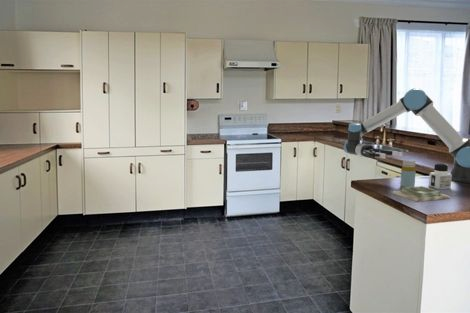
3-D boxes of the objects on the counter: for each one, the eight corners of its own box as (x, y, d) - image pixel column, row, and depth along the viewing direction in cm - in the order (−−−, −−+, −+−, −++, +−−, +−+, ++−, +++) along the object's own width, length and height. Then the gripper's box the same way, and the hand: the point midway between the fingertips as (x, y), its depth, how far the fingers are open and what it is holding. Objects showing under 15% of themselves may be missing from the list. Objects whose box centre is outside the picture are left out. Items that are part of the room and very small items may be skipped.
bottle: (410, 186, 208) (412, 159, 206) (416, 189, 201) (418, 161, 199) (397, 186, 208) (399, 159, 205) (403, 189, 201) (405, 161, 199)
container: (439, 189, 201) (441, 165, 199) (428, 186, 209) (430, 163, 206) (450, 188, 203) (453, 164, 201) (439, 185, 211) (441, 162, 209)
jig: (424, 190, 198) (424, 184, 198) (449, 198, 183) (450, 192, 182) (392, 193, 192) (393, 187, 192) (416, 201, 177) (416, 195, 177)
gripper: (379, 155, 235) (408, 160, 217) (349, 157, 224) (377, 163, 206) (380, 143, 234) (409, 147, 216) (350, 145, 223) (378, 150, 204)
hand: (393, 155), depth 211 cm, fingers open, 13 cm apart
